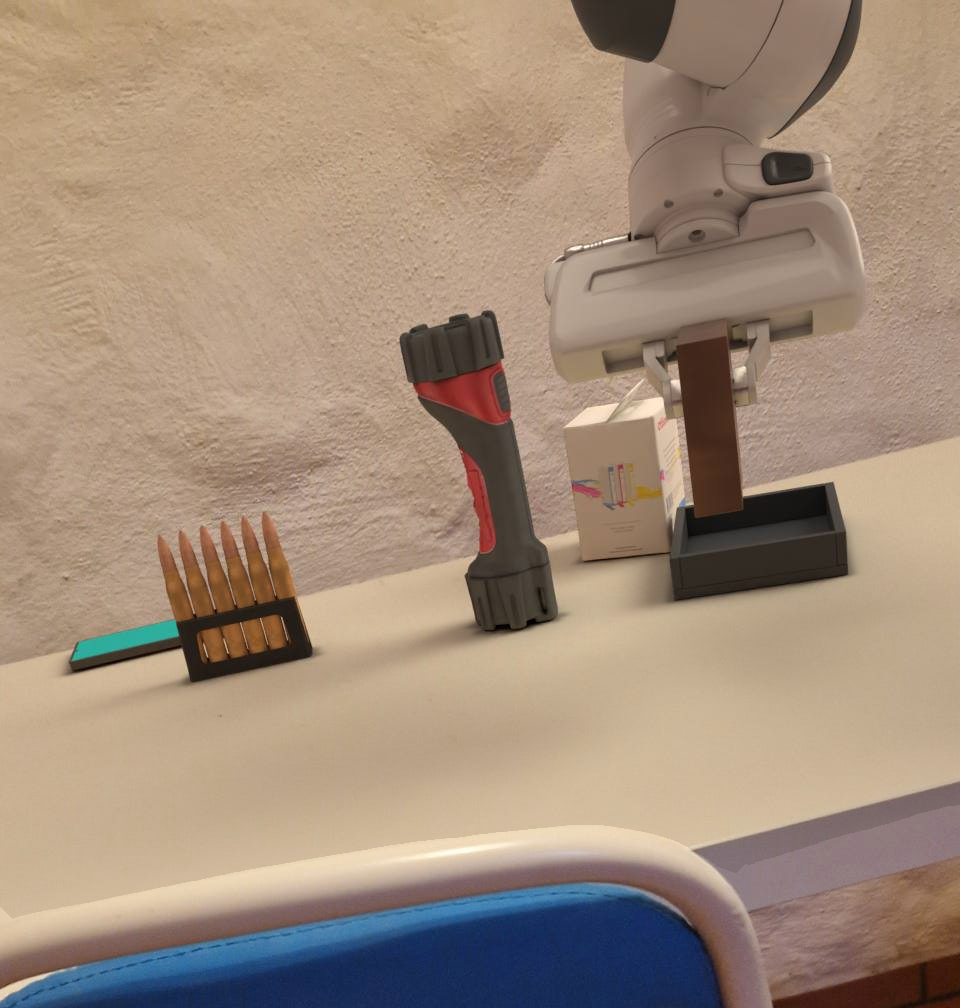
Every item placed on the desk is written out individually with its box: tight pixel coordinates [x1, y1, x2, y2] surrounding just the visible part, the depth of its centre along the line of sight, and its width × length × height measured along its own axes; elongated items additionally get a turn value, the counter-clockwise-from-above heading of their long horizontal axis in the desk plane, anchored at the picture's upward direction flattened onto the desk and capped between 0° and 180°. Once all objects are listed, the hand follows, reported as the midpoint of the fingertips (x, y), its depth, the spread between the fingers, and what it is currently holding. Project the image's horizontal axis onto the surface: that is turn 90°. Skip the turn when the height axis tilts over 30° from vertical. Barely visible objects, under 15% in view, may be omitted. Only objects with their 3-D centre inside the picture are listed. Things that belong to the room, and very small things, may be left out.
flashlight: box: [398, 309, 559, 631], centre depth 111 cm, size 8×8×23 cm
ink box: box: [562, 378, 687, 562], centre depth 126 cm, size 9×8×13 cm
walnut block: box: [676, 318, 744, 518], centre depth 88 cm, size 3×8×10 cm, turn 171°
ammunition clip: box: [156, 510, 314, 683], centre depth 117 cm, size 11×2×12 cm, turn 94°
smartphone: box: [68, 618, 223, 671], centre depth 132 cm, size 7×1×15 cm
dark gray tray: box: [669, 481, 849, 601], centre depth 117 cm, size 14×17×3 cm
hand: (711, 406), depth 89 cm, fingers closed on walnut block, 3 cm apart
